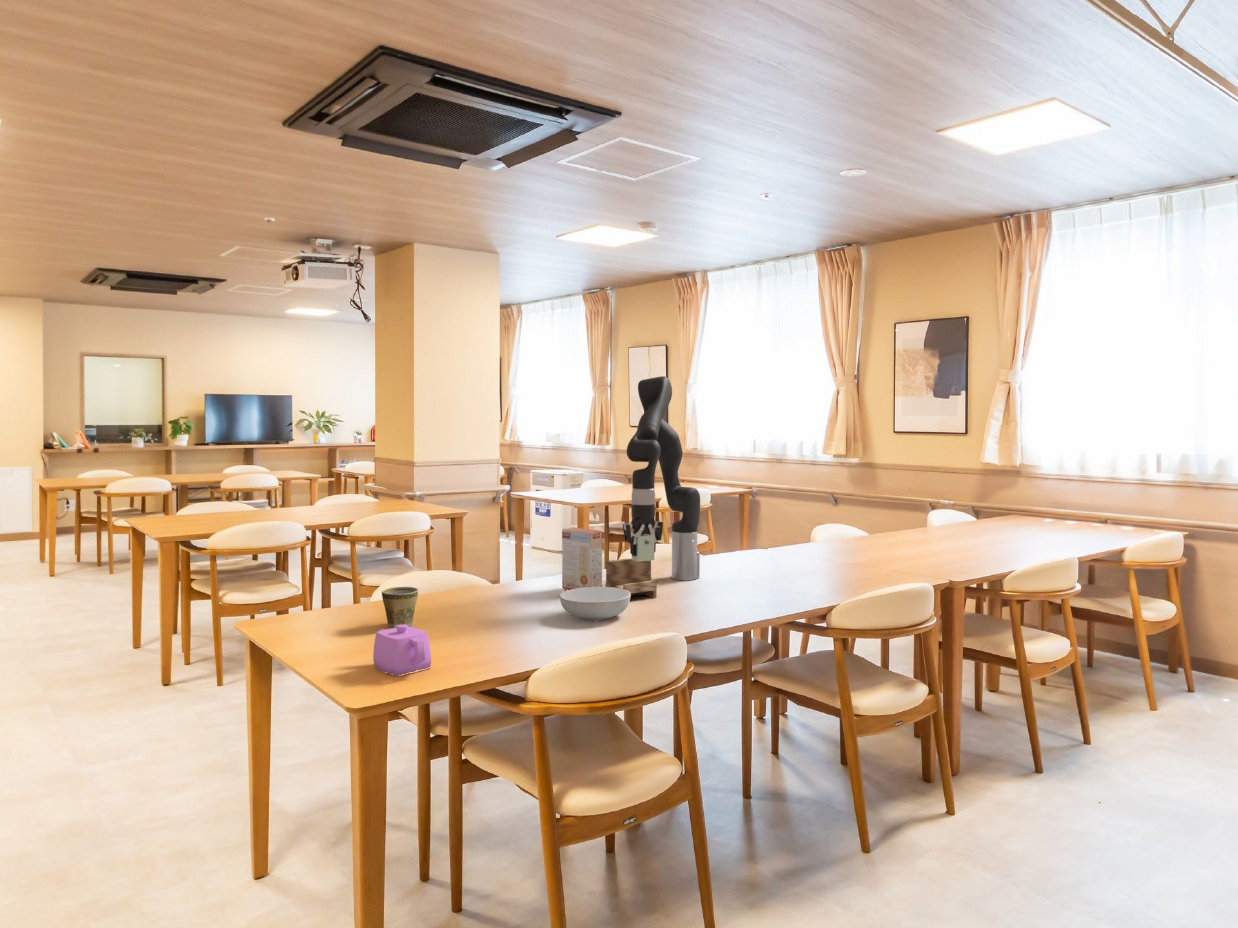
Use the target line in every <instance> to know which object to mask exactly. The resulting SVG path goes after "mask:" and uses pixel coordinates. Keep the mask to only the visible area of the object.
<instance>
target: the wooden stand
mask: <svg viewBox="0 0 1238 928" xmlns="http://www.w3.org/2000/svg"><path fill="white" fill-rule="evenodd" d="M605 573H606V575H605V587H613V588H620V589H624V590H627V591H629V592H630V594H631V596H630V597H632V596H633V597H634V596H640V595H644V596H648V597H650V598H652V599H656V598H657V597H658V595H657V593H658V592H657V584H658V583H657V580H655V579H654V580H652V560H651V561H641V562H637V561H634V560H632V557H631V558H622V559H621V558H620V559H613V560H611V559H610V560H606V562H605Z"/></svg>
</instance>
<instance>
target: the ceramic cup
mask: <svg viewBox="0 0 1238 928" xmlns="http://www.w3.org/2000/svg"><path fill="white" fill-rule="evenodd" d="M418 596H419V589H418V588H417V587H412V586H394V587H389V588H385V589H383V590H382V591H381V597H382V603H383V607H384V609H385V610H384V612H385V615H386V621H387V627H389V628H391V627H393V628H396V626H397V625H407V626H409V627H412V625H413V622H414V621H413V620H414V616H415V615H414V614H415V609H416V605H417V601H418Z"/></svg>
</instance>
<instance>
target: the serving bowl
mask: <svg viewBox="0 0 1238 928" xmlns="http://www.w3.org/2000/svg"><path fill="white" fill-rule="evenodd" d="M631 597H632V596H631V594H630V592H629V591H627V590H624V589H620V588H613V587H606V586H602V587H583V588H576V589H571V590H564V591H562V592H561V593H560V594H559V601H560V604H561V606H562V608H563V610H564V611H565V612H566V613H567V614H569V615H571V616H573V617H576V618H579V619H583V620H588V621H603V620H607V619H610V618H612V617H613V618H614V617H615V616H618V615H620V614H622V613H623V612H625V610H626V609H627V608H628V606H629V604H630V600H631Z"/></svg>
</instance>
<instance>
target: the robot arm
mask: <svg viewBox="0 0 1238 928" xmlns="http://www.w3.org/2000/svg"><path fill="white" fill-rule="evenodd" d="M637 393H638V398H639V400H640V403H641V406H642V409H643V411H644V412H643V414H642V415H641V417H640V419H639V421H638V424H637V429H636V432H635V433H634V435H632V437H631V439H630V440H629V442H628V444H627V447H626V457H627V458H628V459H629V460H630V461H631V462H634V463H648V464H647V466H646V467H644V468H640V469H636V470H634V471H633V472H632V476H631V477H632V485H631V486H632V487H631V488H632V491H631V509H630V510H631V511H630V512H631V522H629V523H622V531H623V538H624V543H629V547H630V548H629V549H630V554H631V557H632V556H637V545H636V543H637V537H638V536H640V535H643V534H648V535H655V540H654V553H656V552H657V551H656V549H657V547H656V543H657V542H658V541H661V540H662V536H663V528H664V522H663V521H659V520H657V521H656V520H655V517H656V493H655V478H656V477H655V476H656V469H657V465H658V463H659V467H660V472H661V475H662V480H663V485H664V491H665V496H666V497H665V498H666V502H667V505H668V507H669V509H670V510H671V511H673V512H677V513H682V517H681V519H680V520H677V521H674V522H673V523H672V525H671V579H674V580H675V581H676V580H677V581H693V580H697V579H700V561H701V560H700V558H701V556H700V555H701V554H700V551H698V528H699V523H700V513H701V494H700V492H699V490H698V489H697V488H695V487H690V486H688V487H687V486H681V483H680V479H679V469H680V465H681V462H682V459H683V455H684V454H683V453H684V451H683V448H682V442H681V439H680V436H679V434H678V432H677V431H676V430H675V429H674V428H673V427H672V425H670V424H669V423H668V422H666V420H664V418H663V417H664V416H665V414H666V412H667V409H668V407H669V405H670V403H671V400H672V397H673V387H672V383H671V381H670V379H669V378H668V377H667V376H665V375H664V376H655V377H649V378H646V379H641V380H640V381H638V383H637ZM654 528H655V529H654Z"/></svg>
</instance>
